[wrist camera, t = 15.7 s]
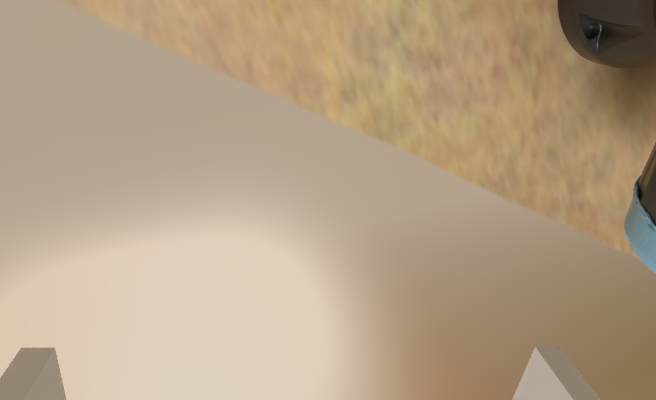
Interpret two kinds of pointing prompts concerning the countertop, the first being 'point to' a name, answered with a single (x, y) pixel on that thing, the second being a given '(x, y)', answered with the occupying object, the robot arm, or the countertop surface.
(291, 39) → the countertop surface
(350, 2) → the countertop surface
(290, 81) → the countertop surface
